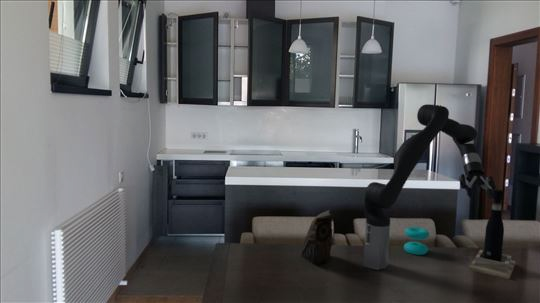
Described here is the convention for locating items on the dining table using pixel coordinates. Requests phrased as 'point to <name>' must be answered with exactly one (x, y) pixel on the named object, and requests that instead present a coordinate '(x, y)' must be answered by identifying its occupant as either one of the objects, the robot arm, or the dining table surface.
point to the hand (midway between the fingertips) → (481, 197)
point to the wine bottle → (494, 229)
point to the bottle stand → (493, 265)
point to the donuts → (416, 234)
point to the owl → (318, 240)
